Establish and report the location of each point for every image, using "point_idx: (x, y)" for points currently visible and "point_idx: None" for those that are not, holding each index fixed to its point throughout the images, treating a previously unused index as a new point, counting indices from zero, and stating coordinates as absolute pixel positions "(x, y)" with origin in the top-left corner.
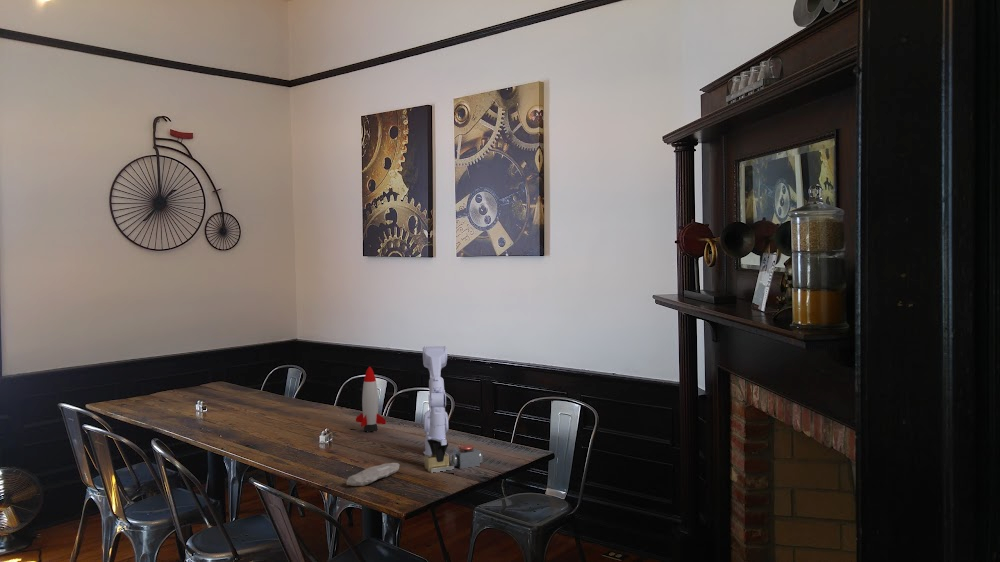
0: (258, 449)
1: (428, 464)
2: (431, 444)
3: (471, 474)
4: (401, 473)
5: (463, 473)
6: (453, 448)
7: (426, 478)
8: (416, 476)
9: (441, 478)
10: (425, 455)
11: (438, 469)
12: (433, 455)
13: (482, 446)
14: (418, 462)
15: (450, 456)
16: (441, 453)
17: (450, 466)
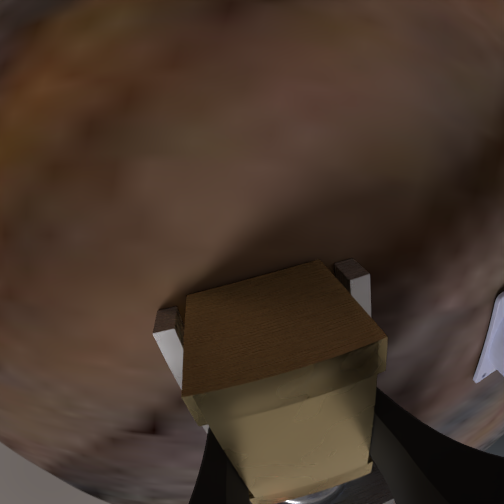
0: None
1: (198, 334)
2: (437, 501)
3: (130, 479)
4: (215, 9)
5: (146, 463)
6: (389, 501)
7: (19, 260)
8: (73, 164)
9: (34, 362)
10: (362, 351)
11: (179, 380)
12: (314, 432)
13: (477, 441)
14: (479, 215)
15: None
16: None
17: None
